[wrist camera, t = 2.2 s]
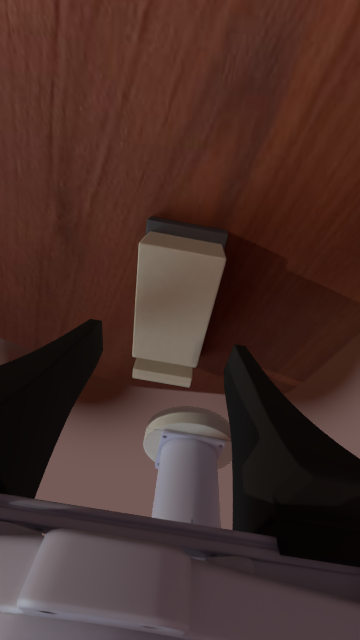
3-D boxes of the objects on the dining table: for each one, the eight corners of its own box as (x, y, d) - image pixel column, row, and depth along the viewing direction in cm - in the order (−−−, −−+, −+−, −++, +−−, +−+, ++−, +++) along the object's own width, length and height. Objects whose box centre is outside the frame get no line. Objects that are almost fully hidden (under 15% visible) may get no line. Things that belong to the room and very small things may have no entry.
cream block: (193, 358, 20) (191, 395, 17) (140, 349, 20) (127, 384, 17) (226, 230, 14) (234, 247, 11) (150, 216, 14) (135, 228, 11)
